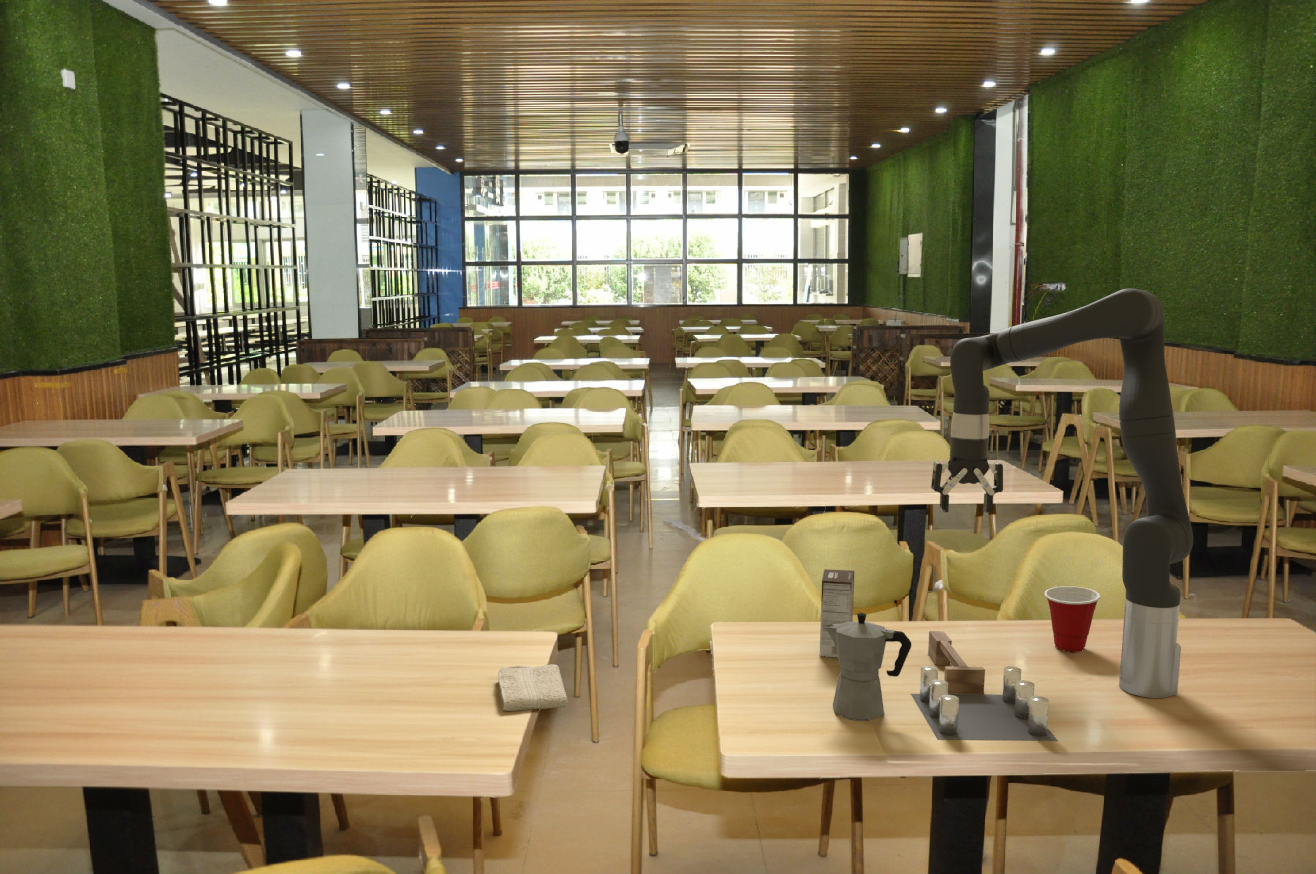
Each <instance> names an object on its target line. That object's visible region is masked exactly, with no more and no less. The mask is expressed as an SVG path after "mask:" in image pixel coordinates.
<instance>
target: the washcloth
mask: <svg viewBox="0 0 1316 874" xmlns="http://www.w3.org/2000/svg"><path fill="white" fill-rule="evenodd" d="M497 673H498V674H497V675H498V686H499V687H498V688H499V694H500V695H499V696H500V699H501V701H500V702H501V708H502V711H506V712H518V711H525V710H537V709H538V710H543V709H544V710H546V709H560V708H566V707H568V706H569V702H568V696H567V693H566V688H565V685H564V681H563V677H562V675H561V670H560V667H559V665H557V664H544V665H538V666H528V665H527V666H525V665H524V666H523V665H515V666H506V667H505V666H504V667H500V668H499V669H498V672H497Z"/></svg>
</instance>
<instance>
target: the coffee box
mask: <svg viewBox="0 0 1316 874" xmlns="http://www.w3.org/2000/svg"><path fill="white" fill-rule="evenodd" d="M855 574H856V573H855V570H849V569H831V568H830V569H829V568H828V569H824V570H823V574H822V579H821V595H820V598H821V604H820V629H819V630H820V634H819V656H820V657H824V656H825V657H828V658H838V651H837V647H836V646H835V644H834V642H833V640H832V638H831V636H830V635H829V633H828V631H827V630H825V629H824V628H825V626H827V625H831V624H842V623H845V622H854V602H855V601H854V597H855V596H854V595H855Z"/></svg>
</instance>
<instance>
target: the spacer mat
mask: <svg viewBox="0 0 1316 874" xmlns="http://www.w3.org/2000/svg"><path fill="white" fill-rule="evenodd" d="M948 695H953V696H956V697H958V698H959V710H958V729H957V734H956V735H954V736H947V735H943V734H941V733H940V732H939V719H936V718H932V717H930V716H929V703H925V702H922V701H920V693H910V696H911V697H912V698H913V700H914V703H916V706H917V707H918V709H919V710H920V712H921V714H922V715H923V717H924V719H925V721H926V722H927V724H928V726H929V727H930V729H931V732H932V733H933V734H934V736H935V738H936V739H937V740H938V741H939V740H940V741H944V740H945V741H1014V742H1016V741H1021V742H1023V741H1025V742H1026V741H1027V742H1028V741H1029V742H1037V741H1038V742H1045V741H1046V742H1059V740H1058V739H1057V737H1055V735H1054V734H1053V733H1052V732H1051V730H1050V729H1049V728H1048V727H1047V733H1046V736H1043V737H1037V736H1033V735H1030V734H1029V733H1028V720H1023V719H1019V718H1016V717H1015V716H1014V714H1015V704H1008V703H1005V702H1003V701H1002V694H992V693H991V694H988V693H987V694H985V693H984V694H948Z"/></svg>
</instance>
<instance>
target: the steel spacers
mask: <svg viewBox="0 0 1316 874" xmlns="http://www.w3.org/2000/svg"><path fill="white" fill-rule="evenodd" d="M1002 680H1003V681H1002V683H1003V684H1002V693H1001V695H1002V701H1003V702H1005V703H1008V704H1015V714H1014V716H1015V717H1016V718H1019V719H1023V720H1028V733H1029V734H1030V735H1033V736H1037V737H1043V736H1046V733H1047V728H1048V719H1049V718H1048V716H1049V714H1048V713H1049V698H1048V697H1046V696H1041V695H1035V683H1034V682H1032V681H1029V680H1022V669H1021V668H1019V667H1018V666H1013V665H1012V666H1011V665H1008V666H1005V667H1003V679H1002ZM919 684H920V685H919V694H920V701H922V702H925V703H929V716H930V717H932V718H936V719H939V732H940V733H941V734H943V735H947V736H954V735H956V734H957V729H958V710H959V698H958V697H956V696H953V695H948V682H946V681H944V679H939V668H938V667H936V666H934V665H926V664H925V665H922V666H921V667H920V682H919Z"/></svg>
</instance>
